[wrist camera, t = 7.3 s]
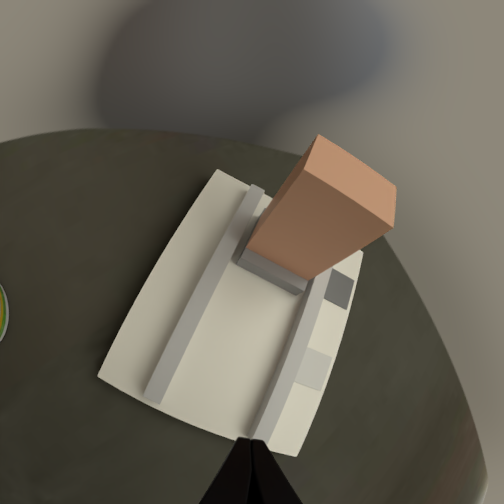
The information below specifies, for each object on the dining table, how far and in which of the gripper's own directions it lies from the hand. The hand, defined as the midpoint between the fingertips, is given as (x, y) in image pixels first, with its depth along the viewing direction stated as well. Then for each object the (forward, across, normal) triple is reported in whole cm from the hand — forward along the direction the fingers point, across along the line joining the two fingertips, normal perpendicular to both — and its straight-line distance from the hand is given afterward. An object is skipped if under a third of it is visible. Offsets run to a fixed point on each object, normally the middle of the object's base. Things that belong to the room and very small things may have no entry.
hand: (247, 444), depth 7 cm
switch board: (+11, 0, 0) cm, 11 cm away
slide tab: (+12, -1, -4) cm, 13 cm away
